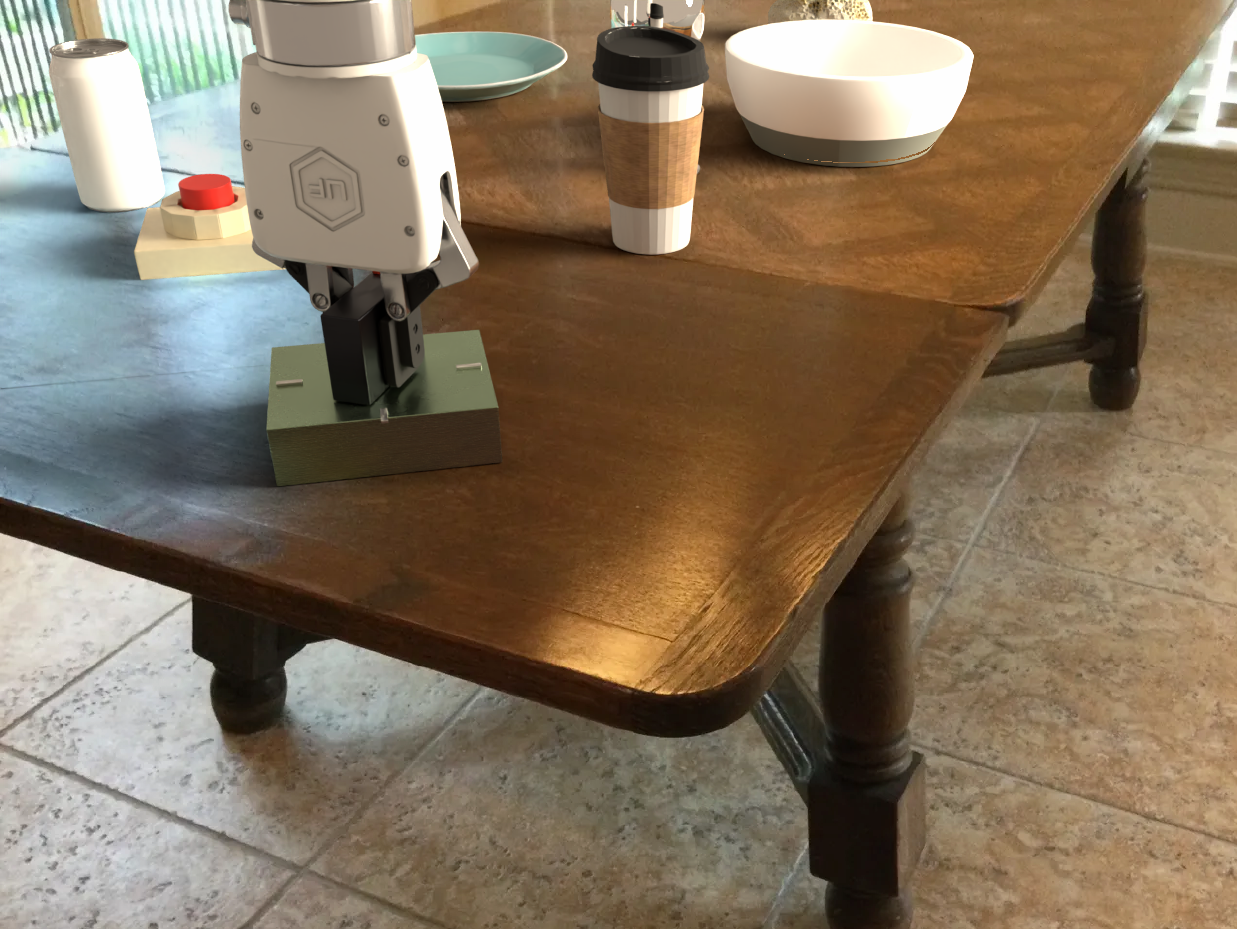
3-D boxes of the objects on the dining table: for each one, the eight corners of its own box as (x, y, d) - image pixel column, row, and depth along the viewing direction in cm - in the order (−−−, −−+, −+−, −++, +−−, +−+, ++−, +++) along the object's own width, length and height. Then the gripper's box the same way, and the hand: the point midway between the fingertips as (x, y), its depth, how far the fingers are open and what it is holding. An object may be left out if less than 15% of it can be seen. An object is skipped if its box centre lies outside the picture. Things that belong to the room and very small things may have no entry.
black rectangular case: (370, 406, 70) (357, 315, 67) (332, 400, 70) (318, 310, 67) (424, 350, 75) (415, 265, 73) (389, 346, 76) (379, 261, 73)
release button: (180, 215, 93) (175, 191, 92) (185, 198, 96) (180, 175, 95) (233, 212, 94) (229, 188, 93) (236, 195, 97) (231, 172, 96)
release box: (140, 280, 92) (127, 226, 90) (153, 235, 99) (141, 184, 97) (287, 270, 94) (278, 216, 92) (289, 226, 101) (280, 175, 99)
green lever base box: (276, 492, 69) (265, 432, 67) (281, 396, 78) (271, 340, 76) (503, 468, 71) (499, 409, 69) (482, 377, 81) (478, 322, 79)
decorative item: (867, -7, 158) (883, -29, 148) (856, 68, 160) (871, 51, 150) (769, -22, 157) (779, -45, 148) (759, 53, 159) (768, 36, 149)
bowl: (876, 95, 135) (884, 11, 131) (1011, 158, 119) (1026, 63, 114) (681, 120, 127) (682, 30, 122) (798, 191, 110) (804, 90, 106)
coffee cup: (653, 213, 105) (653, 18, 97) (728, 242, 100) (735, 39, 92) (573, 239, 100) (566, 35, 92) (648, 270, 95) (647, 58, 87)
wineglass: (703, 158, 117) (708, -85, 106) (701, 187, 111) (705, -69, 100) (616, 156, 117) (612, -87, 106) (609, 184, 111) (603, -71, 100)
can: (149, 215, 103) (115, 58, 96) (67, 213, 103) (27, 56, 96) (178, 188, 108) (147, 37, 102) (100, 186, 108) (64, 36, 102)
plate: (397, 124, 124) (393, 94, 123) (326, 70, 140) (323, 42, 139) (605, 95, 134) (604, 67, 132) (516, 48, 150) (515, 22, 148)
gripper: (140, 33, 61) (213, 384, 71) (459, 60, 58) (489, 423, 68) (226, 0, 67) (283, 328, 77) (519, 23, 64) (538, 362, 74)
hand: (379, 370), depth 73 cm, fingers closed on black rectangular case, 2 cm apart
